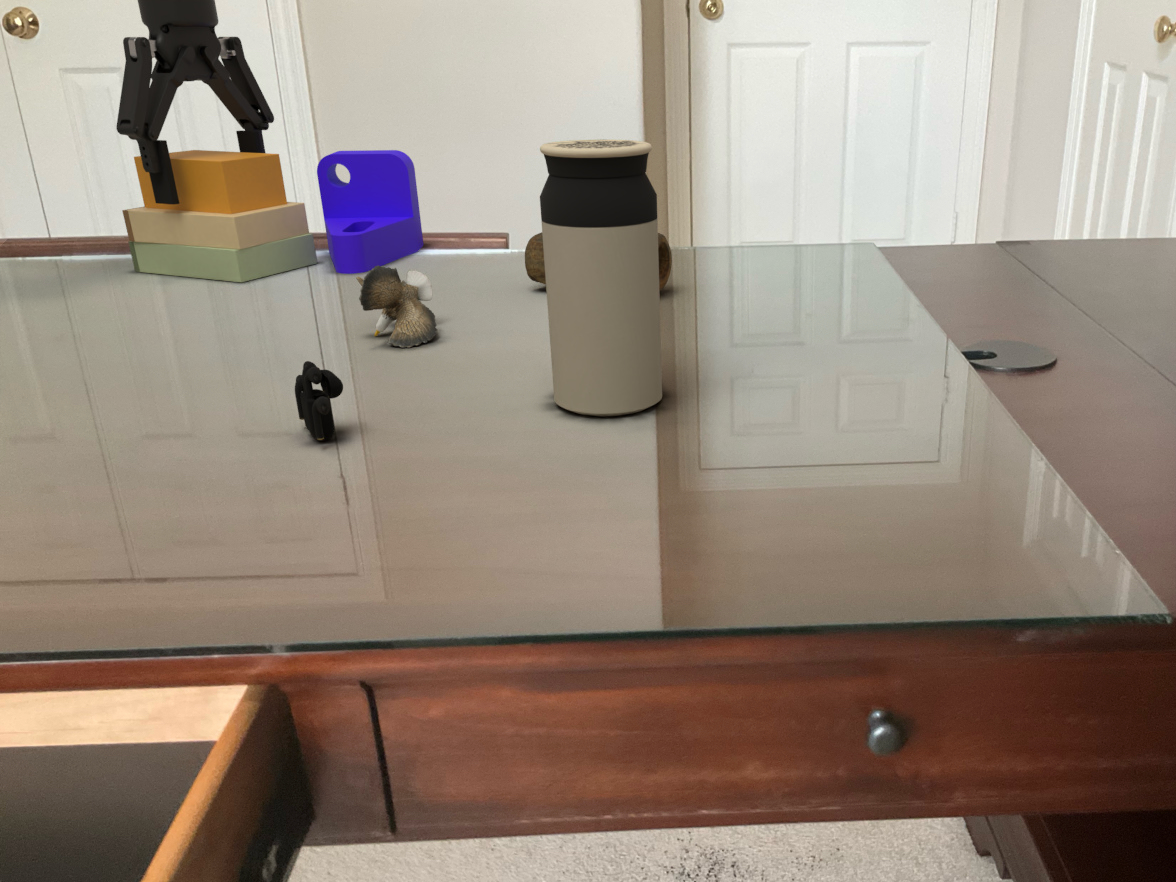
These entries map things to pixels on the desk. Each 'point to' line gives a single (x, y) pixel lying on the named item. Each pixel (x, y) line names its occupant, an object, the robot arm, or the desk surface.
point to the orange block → (220, 181)
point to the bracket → (369, 209)
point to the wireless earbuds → (317, 400)
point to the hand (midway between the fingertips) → (214, 196)
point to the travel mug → (602, 276)
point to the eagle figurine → (399, 304)
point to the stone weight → (537, 265)
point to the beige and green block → (220, 242)
